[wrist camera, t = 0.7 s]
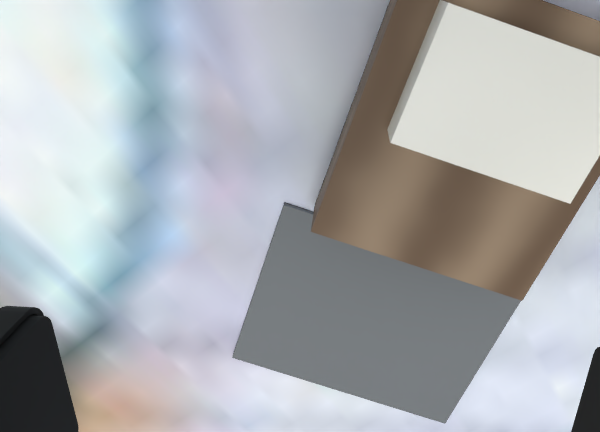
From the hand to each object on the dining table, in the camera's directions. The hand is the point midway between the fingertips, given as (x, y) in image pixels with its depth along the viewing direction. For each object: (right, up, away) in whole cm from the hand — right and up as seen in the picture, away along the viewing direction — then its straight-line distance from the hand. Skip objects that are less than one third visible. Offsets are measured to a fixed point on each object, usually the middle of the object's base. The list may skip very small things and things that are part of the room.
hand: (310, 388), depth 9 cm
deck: (+10, +8, +24) cm, 27 cm away
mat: (+5, -5, +30) cm, 31 cm away
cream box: (+10, +9, +19) cm, 23 cm away
